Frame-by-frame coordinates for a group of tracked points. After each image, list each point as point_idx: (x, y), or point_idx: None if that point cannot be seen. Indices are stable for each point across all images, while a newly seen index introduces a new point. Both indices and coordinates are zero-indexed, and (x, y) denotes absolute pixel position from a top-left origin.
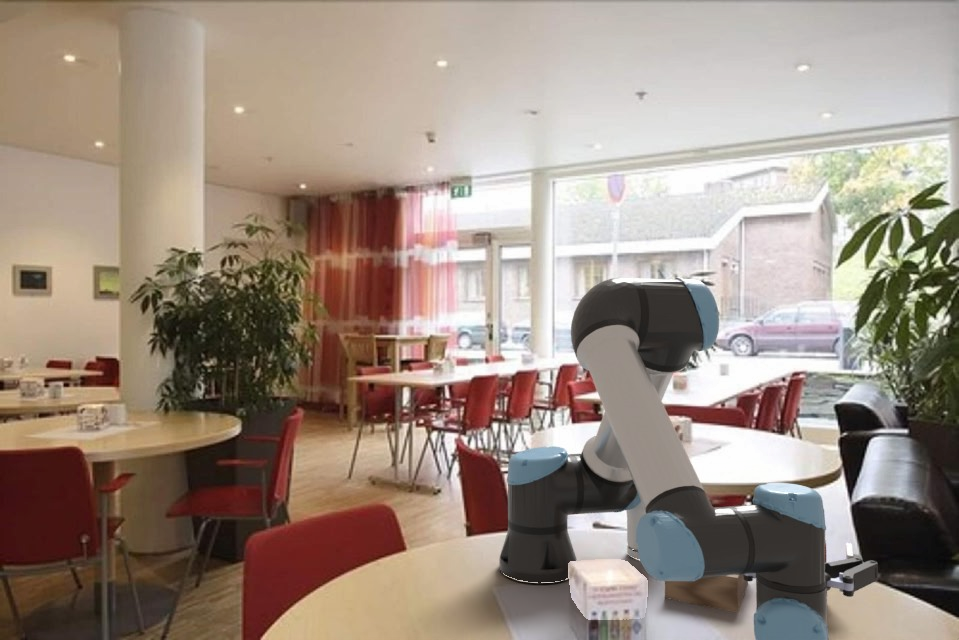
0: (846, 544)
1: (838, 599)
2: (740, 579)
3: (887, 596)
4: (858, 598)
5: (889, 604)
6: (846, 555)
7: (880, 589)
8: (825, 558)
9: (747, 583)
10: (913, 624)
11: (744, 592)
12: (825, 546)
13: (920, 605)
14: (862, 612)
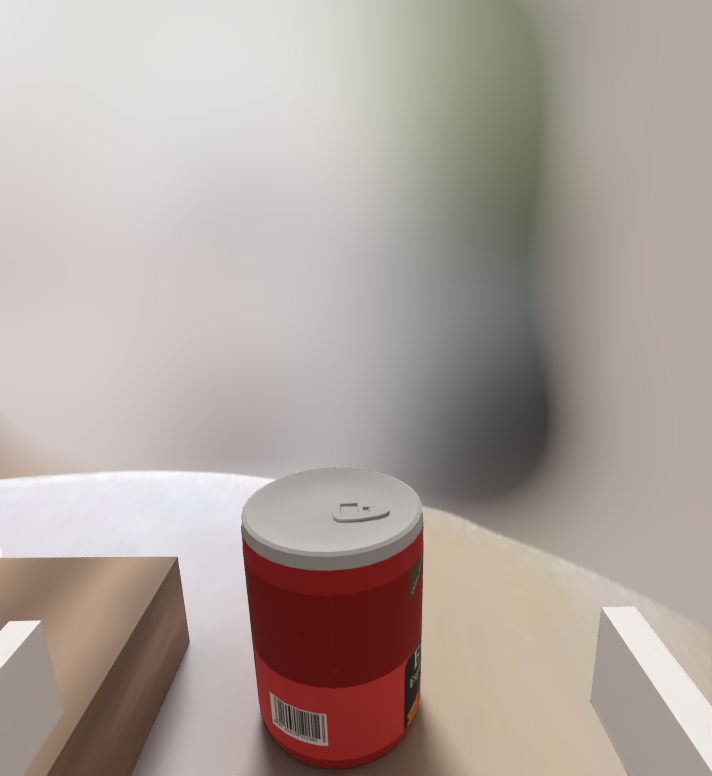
0: (624, 639)
1: (444, 645)
2: (76, 769)
3: (546, 580)
4: (490, 617)
5: (569, 621)
6: (613, 702)
7: (519, 554)
8: (422, 570)
9: (184, 648)
10: None
11: (152, 722)
12: (422, 528)
13: (630, 598)
14: (529, 708)
